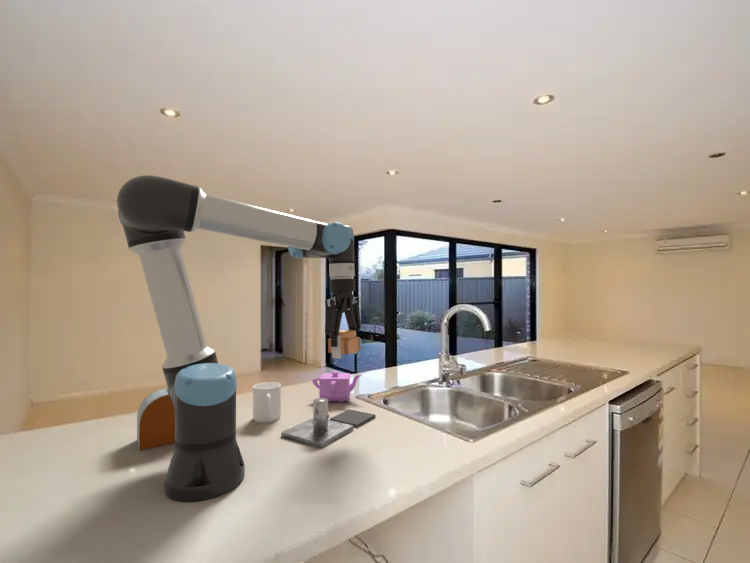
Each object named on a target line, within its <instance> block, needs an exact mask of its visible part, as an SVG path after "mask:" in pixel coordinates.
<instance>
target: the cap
mask: <svg viewBox="0 0 750 563" xmlns="http://www.w3.org/2000/svg"><path fill="white" fill-rule="evenodd" d="M338 335H340V336H341V355H349V354H352V353H353V352H357V353H358V352H361V337H360V336H357V337H356V335H357V332H356V331H355V330H349V329H339V334H338ZM327 348H328V349H327V350H328V351H327V352H328V353H329V354H332V347H331V338H328V339H327Z"/></svg>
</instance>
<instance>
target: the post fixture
mask: <svg viewBox="0 0 750 563" xmlns="http://www.w3.org/2000/svg"><path fill="white" fill-rule="evenodd" d="M312 403H313V406H312V408H313V409H312V414H313V415H312V416H313V417H312V418H309V419H308V420H305V421H303V422H301V423H299V424H296V425H294V426H292V427H289V428H287V429H285V430H282V431H281V432H280V437H282V438H285V439H287V440H292V441H295V442H298V443H302V444H306V445H310V446H313V447H317V448H319V449H322V448H324V447H326V446H327V445H329V444H330V443H331V444H332V442H334V441H336V440H338V439H339V438H341V437H343V436H345V435H347V434H348V433H350V432H352V431H354V427H353V425H349V424H344V423H340V422H336V421H331V420H330V413H329V403H328V399H325V398H315V399H313V402H312Z"/></svg>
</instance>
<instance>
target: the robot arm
mask: <svg viewBox="0 0 750 563" xmlns="http://www.w3.org/2000/svg"><path fill="white" fill-rule="evenodd" d="M116 198H117V199H116V206H117V208H118V210H117V212H118V218H119V221H120V224H121V226H122V228H123V231H124V237H125V239H126V243H127V247H128V249H129V251H131V252H132V253H135V254H136V255H138V256H139V260H140V264H141V267H142V271H143V275H144V277H145V278H144V279H145V282H146V285H147V289H148V292H149V295H150V300H151V302H152V303H151V304H152V307H153V309H154V310H153V311H154V315H155V318H156V321H157V325H158V328H159V332H160V335H161V339H162V343H163V347H164V350H165V351H164V352H165V353H166V354H165V355H166V358H165V360H164V362H163V363H162V364H161V368H162V371H163V375H164V379H165V383H166V386H167V387H166V388H167V390H168V394H169V397H170V399H171V401H172V403H173V407H174V410H175V443H174V449H173V452H172V453H173V454H172V456H171V459H170V462H169V465H168V469H167V473H166V475H165V477H164V493H165V496H167V497H168V498H169V499H172V500H174V501H179V502H195V501H196V502H197V501H198V502H199V501H203V500H209V499H212V498H213V499H214V498H215V497H218V496H221V495H223V494H226V493H228V492H230V491H232V490H233V489H235V488H236V487H237V486H239V485H240V484H241V483H242V481H243V480H244V479H245V474H246V473H245V472H246V471H245V465H246V464H245V461H244V459H243V455H242V451H241V450H240V448H239V444H238V441H237V387H238V381H237V378H236V371H235V370H234V369H233V367H231V366H229V365H227V364H221V363H219V361H218V358H217V357H218V356H217V353H216V349H214V348H212V347H210V346H209V345H207V342H206V339H205V334H204V332H203V326H202V324H201V320H200V316H199V312H198V309H197V305H196V304H197V303H196V301H195V297H194V293H193V289H192V286H191V282H190V278H189V275H188V271H187V268H186V267H187V266H186V263H185V260H184V255H183V252H182V251H183V250H182V247H183V245H185V243H186V241H187V240H186V235H185V232H188V233H193V232H195V231H197V230H203V231H209V232H212V233H219V234H224V235H228V236H234V237H238V238H244V239H248V240H249V239H250V240H253V241H254V240H255V241H260V242H264V243H270V244H275V245H279V246H285V247H287V250H288V253H289V256H291V257H293V258H295V259H296V258H297V259H298V258H299V259H302V260H303V259H328V263H329V264H328V265H329V266H328V268H329V269H328V270H329V277H330V278H331V279H330V280H329V292H331V293H332V295H331V298H329V299H328V298H326V299H325V302H324V303H325V331H324V333H325V334H326V335H327V336H330V339H331V347H332V353H331V358H332V359H342V354H341V336H340V335H338V334H339V330H341V329H340V327H341V323H342V316H343V315H344V316H345V319H346V324H347V327H348V330H355V331H356V333H357V332H358V333H359V332H360V329H361V328H362V322H361V313H360V297H359V296H354V294H353V292H355V291H356V280H355V278H354V277H355V276H356V275H355V236H354V230H353V228H352V226H350V225H346V224H343V223H341V222H329V223H325V222H322V221H318V220H313V219H309V218H305V217H300V216H296V215H293V214H288V213H284V212H280V211H276V210H273V209H272V210H271V209H269V208H265V207H260V206H257V205H252V204H248V203H245V202H240V201H236V200H233V199H228V198H225V197H220V196H216V195H212V194H208V193H205V192H204V191H203V189H202V188H201V187H200V186H197V185H193V184H189V183H185V182H182V181H178V180H175V179H171V178H166V177H162V176H158V175H149V174H145V175H138V176H136V177H133V178H131V179H129V180H127V181H126V182H125V183H124V184H122V186H121V187H120V189H119V191H118V193H117V197H116ZM356 337H358V336H357V334H356ZM357 353H358V351H357V352H353V353H351V354H352V355H353V354H355V355H356V354H357Z"/></svg>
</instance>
